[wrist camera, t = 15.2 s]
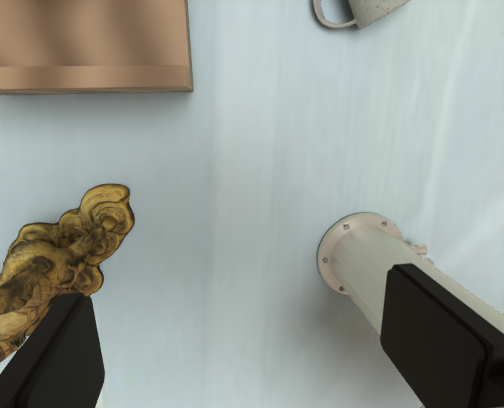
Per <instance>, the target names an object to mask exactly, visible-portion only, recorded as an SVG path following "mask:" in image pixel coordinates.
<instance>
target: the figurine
mask: <svg viewBox="0 0 504 408" xmlns="http://www.w3.org/2000/svg"><path fill="white" fill-rule="evenodd" d="M129 196H130V191H129V189H128V188H127V187H126V186H123V185H119V184H102V185H98V186H96V187H94V188H92V189H90V190H88V191H87V192H86V194H85V195H84V197H83V198H82V201H81V204H80V206H79V207H78V208H77V209H72V210H69V211H67V212H66V213H64V214H63V215H62V216H61V218H60V220H59V222H58V223H55V224H49V223H32V224H27V225H24V226H23V227H22V228H21V230H20V231H19V234H18V237H17V239H16V240H15V241H14V242H13V243H12V244H11V246H10V247H9V250H8V254H7V256H6V259H5V261H4V263H3V270H2V273H1V274H0V362H2V361H3V360H4V359H5V358H7V357H8V356H9V355H10V354H12V353H13V352H14V351H17V350H18V349H19V347H20V346H21V345H22V344H23V343H24V342H25V340H26V336H29V335H31V333H32V332H33V331H34V329H35V328H36V327H37V325H38V324H39V323H40V321H41V320H42V319H43V317H44V316H45V314H46V313H47V312H48V310H49V309H50V308H51V306H52V305H53V304H54V302H55V301H56V299H57V298H58V297H59V296H60V295H61V294H65V293H76V292H83V293H84V295H85V297H87V296H90V295H91V294H92V293H95V292H97V291H98V290H99V289H100V288H101V286H102V284H103V274H102V272H101V271H100V269H99V264H100V263H101V262H102V261H104V260H105V259H107V258H109V257H110V256H111V255H112V254H113V253H114V252H115V251H116V250H117V249H118V248H119V246H120V245H121V243H122V241H123V240H124V238H125V237H126V235H127V234H128V233H129V232H130V230H131V229H132V227H133V225H134V221H135V219H134V213H133V211H132V209H131V207H130V205H129Z"/></svg>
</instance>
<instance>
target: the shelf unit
mask: <svg viewBox="0 0 504 408" xmlns="http://www.w3.org/2000/svg"><path fill="white" fill-rule="evenodd" d="M143 92H193V77H192V62H191V48H190V33H189V18H188V4H187V0H0V95H37V94H90V93H143Z"/></svg>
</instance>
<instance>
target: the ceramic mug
mask: <svg viewBox="0 0 504 408" xmlns="http://www.w3.org/2000/svg"><path fill="white" fill-rule="evenodd" d="M348 1H349V5H350V7H351V10H352V13H353V16H354V20H352V21H350V22H347V23H341V24H334V23H331V22H329V21H326V20H325V18H324V15H323V12H322V8H321V3H320V2H321V0H313V6H314V11H315V13H316V16H317V18H318V20H319V21H320V22H321V23H322V24H324V25H325V26H328V27H331V28H343V27H347V26H351V25H353V24H357V26H358V28H359V29H363V28H365V27H367V26H368V25H370V24H372V23H373V22H375V21H377V20H379V19H380V18H382V17H384V16H385V15H387V14H389V13H390V12H392V11H394V10H396V9H397V8H399V7H400V6H402V5H404V4H406V3H407V2H409V1H410V0H348Z"/></svg>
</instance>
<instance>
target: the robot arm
mask: <svg viewBox="0 0 504 408" xmlns="http://www.w3.org/2000/svg"><path fill="white" fill-rule="evenodd" d="M344 224H345V225H344ZM343 225H344V226H343ZM425 254H427V247H426V246H425V245H415V246H410V245H409V244H408V243H406V242H405V241H403V238H402V235H401V233H400V231H399V229H398V228H397V227H396V226H395V224H393V223H392V222H391V221H389V220H388V219H386V218H385V217H383V216H380V215H378V214H374V213H358V214H354V215H350V216H348V217H346V218H344V219H342V220H340V221H339V222H337V223H336V224H335V225H334V226H333V227H332V228H331V229H330V230H329V231H328V232H327V234H326V235H325V236H324V238H323V240H322V242H321V244H320V247H319V251H318V259H317V261H318V268H319V271H320V274H321V276H322V277H323V279H324V280H325V282H326V283H327V284H328V286H330V287H331V288H332V289H333V290H335V291H337V292H338V293H341V294H344V295H348V296H350V297H351V298H352V300H353V301H354V302H355V304H356V305H357V306H358V308H359V309H360V310H361V312H362V313H363V314H364V316H365V317H366V318H367V320H368V321H369V322H370V324H371V325H372V326H373V328H374V329H375V330H376V332H377V333H378V334H379V335H380V341H381V345H382V348H383V350H384V351H385V353H386V354H387V355H388V357H389V358H390V359H391V361H392V362H393V364H394V365H395V366H396V368H397V369H398V371H399V372H400V373H401V375H402V376H403V377H404V379H405V380H406V382H407V383H408V384H409V386H410V387H411V388H412V390H413V391H414V393H415V394H416V395H417V397H418V398H419V399H420V401H421V402H422V404H423V405H422V406H421V407H420V408H504V314H503V313H501V312H499V311H498V310H496V309H495V308H493V307H492V306H490V305H489V304H487V303H486V302H484V301H483V300H481V299H480V298H478V297H477V296H475V295H474V294H472V293H471V292H469V291H468V290H467V289H465V288H464V287H462V286H461V285H460V284H458V283H457V282H455V281H454V280H453V279H451V278H450V277H448V276H447V275H446V274H444V273H443V272H441V271H440V270H439V269H437V268H436V267H434V263H433V261H432V260H431V259H429V258H427V259H423V258H422V257H420V256H419V255H425ZM323 258H324V259H323ZM104 377H105V370H104V364H103V359H102V353H101V348H100V342H99V337H98V331H97V326H96V320H95V315H94V309H93V304H92V299H91V297H90V296H87V297H85V295H84V293H83V292H76V293H65V294H61V295H60V296H59V297H58V298H57V299H56V301H55V302H54V304H53V305H52V306H51V308H50V309H49V310H48V312H47V313H46V314H45V316H44V317H43V319H42V320H41V321H40V323H39V324H38V325H37V327H36V328H35V329H34V331H33V332H32V333H31V335H30V336H29V338H28V339H27V340H26V342H25V343H24V344H23V345H22V346H21V347H20V348H19V350H18V351H17V352H16V354H15V355H14V356H13V358H12V359H11V360H10V362H9V363H8V364H7V366H6V367H5V368H4V370H3V371H2V373H1V374H0V408H95V406H96V403H97V400H98V398H99V395H100V392H101V389H102V386H103V383H104Z"/></svg>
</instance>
